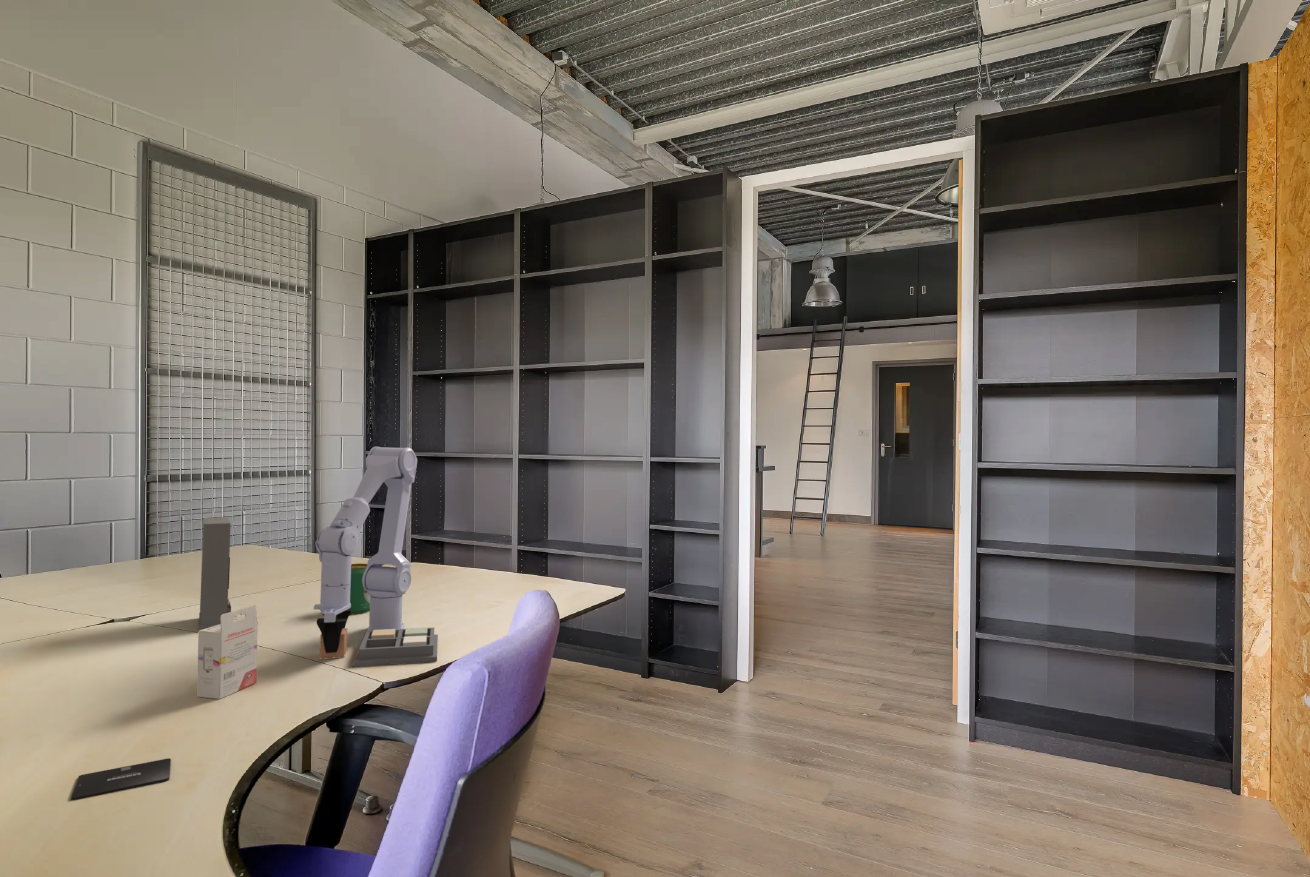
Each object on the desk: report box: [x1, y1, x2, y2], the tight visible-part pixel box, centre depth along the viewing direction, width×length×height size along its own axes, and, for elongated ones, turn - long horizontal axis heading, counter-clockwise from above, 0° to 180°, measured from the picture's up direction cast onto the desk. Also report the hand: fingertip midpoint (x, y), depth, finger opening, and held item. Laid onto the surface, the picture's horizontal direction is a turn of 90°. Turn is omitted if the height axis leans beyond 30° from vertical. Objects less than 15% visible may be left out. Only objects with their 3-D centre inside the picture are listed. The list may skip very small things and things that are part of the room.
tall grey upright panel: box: [198, 517, 232, 630], centre depth 166 cm, size 14×6×25 cm, turn 34°
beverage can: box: [350, 563, 370, 615], centre depth 182 cm, size 8×8×12 cm
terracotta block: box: [319, 627, 348, 659], centre depth 144 cm, size 5×5×5 cm
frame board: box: [353, 627, 439, 667], centre depth 148 cm, size 17×16×4 cm
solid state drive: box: [70, 757, 172, 801], centre depth 90 cm, size 7×10×1 cm
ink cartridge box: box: [196, 604, 259, 700], centre depth 123 cm, size 9×5×15 cm, turn 168°
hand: (333, 648), depth 144 cm, fingers open, 5 cm apart
